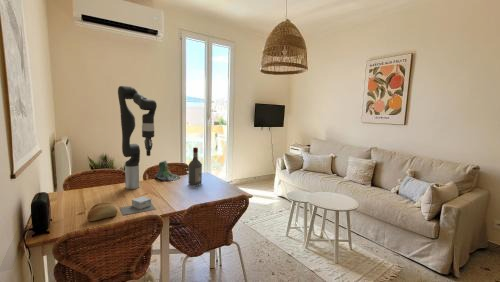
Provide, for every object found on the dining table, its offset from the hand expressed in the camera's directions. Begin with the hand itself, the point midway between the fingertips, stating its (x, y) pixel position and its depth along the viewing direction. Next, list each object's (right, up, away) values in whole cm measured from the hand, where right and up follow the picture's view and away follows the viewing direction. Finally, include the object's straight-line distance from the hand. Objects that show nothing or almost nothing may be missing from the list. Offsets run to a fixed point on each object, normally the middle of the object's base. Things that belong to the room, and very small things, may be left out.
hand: (148, 155), depth 166 cm
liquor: (+23, -26, +37) cm, 51 cm away
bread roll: (-13, -33, -29) cm, 46 cm away
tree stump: (-4, -23, +50) cm, 55 cm away
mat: (0, -31, -15) cm, 35 cm away
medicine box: (-3, -28, -10) cm, 30 cm away
